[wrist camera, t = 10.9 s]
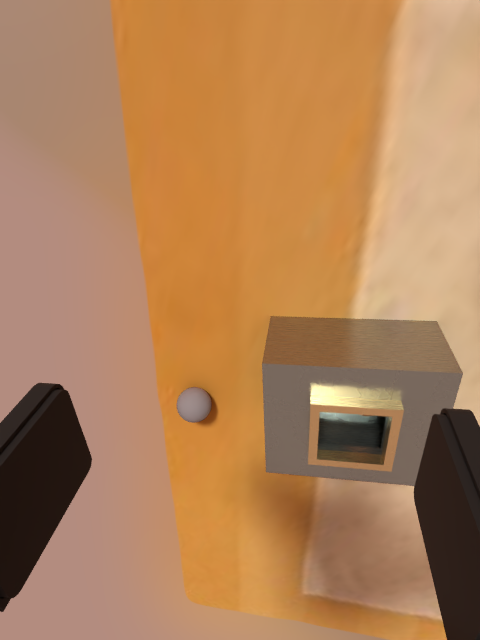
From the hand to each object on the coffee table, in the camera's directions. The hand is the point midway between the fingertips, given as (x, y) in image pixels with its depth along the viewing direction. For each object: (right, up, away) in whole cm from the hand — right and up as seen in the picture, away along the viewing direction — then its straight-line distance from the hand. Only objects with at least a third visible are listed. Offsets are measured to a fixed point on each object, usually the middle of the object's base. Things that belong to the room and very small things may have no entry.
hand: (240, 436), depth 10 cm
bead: (-6, -8, +35) cm, 36 cm away
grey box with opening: (+11, -3, +33) cm, 35 cm away
